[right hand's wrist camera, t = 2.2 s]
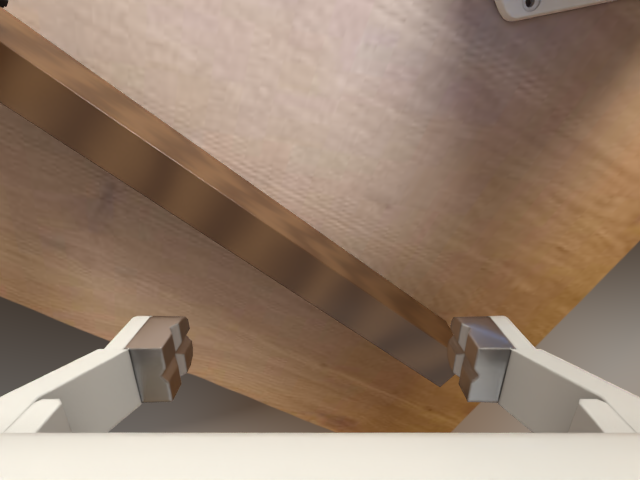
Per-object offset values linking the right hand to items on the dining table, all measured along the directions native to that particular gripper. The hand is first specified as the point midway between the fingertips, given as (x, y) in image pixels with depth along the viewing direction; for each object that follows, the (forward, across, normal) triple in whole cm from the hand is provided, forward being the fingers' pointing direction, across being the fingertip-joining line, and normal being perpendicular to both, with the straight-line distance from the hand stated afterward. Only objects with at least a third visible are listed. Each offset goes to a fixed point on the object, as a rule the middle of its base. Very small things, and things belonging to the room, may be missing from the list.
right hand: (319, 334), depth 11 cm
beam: (+31, +9, +4) cm, 32 cm away
